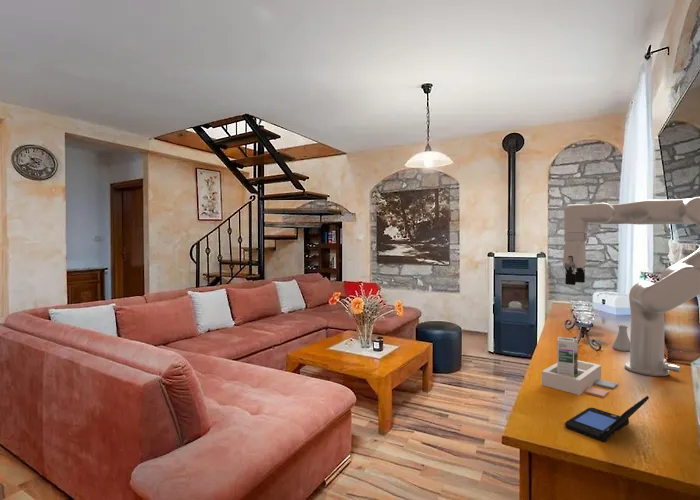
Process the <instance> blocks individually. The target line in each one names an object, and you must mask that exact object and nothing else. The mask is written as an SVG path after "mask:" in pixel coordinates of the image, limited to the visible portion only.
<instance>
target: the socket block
mask: <svg viewBox="0 0 700 500" xmlns="http://www.w3.org/2000/svg"><path fill="white" fill-rule="evenodd" d="M593 385H594V386H597V387H602V388H606V389H610V390H614V389H616V387H618V382H613V381H609V380H604V379H602V365H601V364H598V363H594V362H588V361H582V360H579V359H578V377H577V378H574V377H570V376H566V375H562V374H558V373H557V362H556V363H554V364H552V365H550V366H548V367H547V368H545V369H543V370H542V371H541V386H544V387H548V388H552V389H556V390H558V391H563V392H567V393H570V394H573V395H577V396H581V394H583V393H584V394H587V395H591V396H595V397H599V398H602V399H604V398H605V397H607V395H608V394H609V393H610V392H609V391H608V390H606V389H602V388H601V389H600V388H597V387H593Z"/></svg>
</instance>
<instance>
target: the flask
mask: <svg viewBox="0 0 700 500" xmlns="http://www.w3.org/2000/svg"><path fill="white" fill-rule="evenodd" d="M617 326H618V331H617V335H616V337H615V339H614V341H613V343H612V346H611V348H612V349H614V350H618V351H624V352H630V337H629V335H628V326H627V325H623V324H619V325H617Z"/></svg>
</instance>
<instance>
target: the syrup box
mask: <svg viewBox="0 0 700 500" xmlns="http://www.w3.org/2000/svg"><path fill="white" fill-rule="evenodd" d="M556 341H557V346H556V348H557V350H556V351H557V352H556V353H557V354H556V355H557V356H556V357H557V361H556V363H557V373H558V374H562V375H566V376H570V377H574V378H577V377H578V360H579V358H578V357H579V356H578V353H579V352H578V351H579V350H578V348H579V347H578V346H579V344H578V343H579V342H578V338H573V337H572V338H571V337H563V336H558V337H557V340H556Z"/></svg>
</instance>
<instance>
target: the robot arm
mask: <svg viewBox="0 0 700 500" xmlns="http://www.w3.org/2000/svg"><path fill="white" fill-rule="evenodd" d="M563 217H564V220H563V221H564V222H563V224H564V225H563V228H564V229H563V231H564V233H563V239H564V241H563V242H564V247H563V259H562V261H563V262H562V265H563V266H562V267H563V268H564V269H565V272H564V273H565V281H564V282H565V285H569V286H570V285H572V286H576V284H577V283H583V284H584V283H585V281H586V272H585V271H586V264H587V263H586V262H587V252H586V251H587V250H586V242H588V227H589V226H588V224H592V225H624V224H626V225H676V224H677V225H682V224H683V225H688V224H694V225H696V226H697V227H698V228H700V196H696V197H691V198H681V199H680V198H675V199H674V198H673V199H646V200H645V199H644V200H638V201H633V202H626V203H617V204H616V203H613V204H612V203H611V204H609V203H606V202H596V203H590V204H582V203H581V204H580V203H579V204H568V205H566V206H565V207H564V216H563ZM628 295H629V296H628V298H629V299H628V300H629V308H630V330H629V331H630V337H629V340H630V351H629V361H628V362H626V363H624V368H625V369H626V370H628V371H630V372H632V373H635V374H640V375H644V376H650V377H666V376H669V375H670V374H671V373H670V372H673V373H674V372H675V373H679V374H680V372H681V366H678V365H676V364H671V363H668V362H667V359H666V358H665V326H666V324H665V313H666V312H669V311H671V310H674V309H676V308H678V307H680V306H681V305H682V304H685V303H687V302H688V301H690V300H692V299H694V298H695V297H697V296H699V295H700V246H698V248H697V249H696V250H695V251H694V252H692V253H691V254H689V255H688V256H686V257H684V258H682V259H681V260H679V261H677V262H676V263H674V264H672V265H670V266H668V267H667V268H665V269H664V270H663V271H662V273H661V275H660V280H658V281H657V282H652V281H648V280H647V281H646V280H645V281H640V282H637V283H635V284H634V285H633V286H632V287H631V288H630V290H629V294H628Z"/></svg>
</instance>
